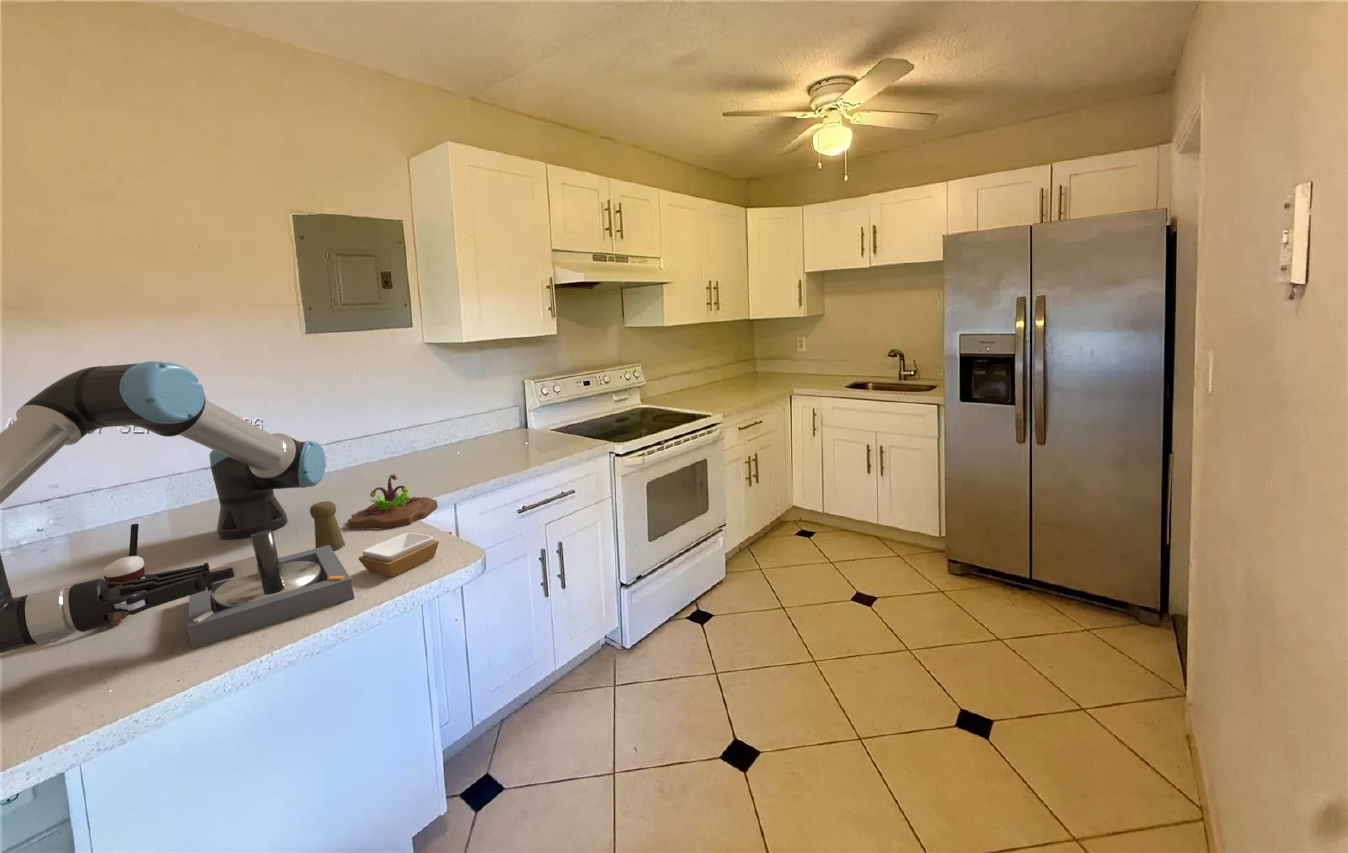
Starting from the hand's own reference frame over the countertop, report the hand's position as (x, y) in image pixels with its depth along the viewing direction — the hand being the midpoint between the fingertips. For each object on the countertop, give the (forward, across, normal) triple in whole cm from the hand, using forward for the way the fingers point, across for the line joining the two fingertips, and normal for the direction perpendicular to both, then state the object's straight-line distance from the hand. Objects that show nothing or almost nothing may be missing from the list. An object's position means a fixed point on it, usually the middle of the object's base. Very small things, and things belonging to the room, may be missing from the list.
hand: (256, 564), depth 107 cm
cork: (+13, -30, -10) cm, 35 cm away
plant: (+30, -44, -10) cm, 54 cm away
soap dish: (+24, -7, -10) cm, 27 cm away
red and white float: (-23, -39, -10) cm, 46 cm away
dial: (+1, -8, -8) cm, 11 cm away
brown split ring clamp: (-25, -20, -10) cm, 34 cm away
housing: (+1, -8, -10) cm, 13 cm away
